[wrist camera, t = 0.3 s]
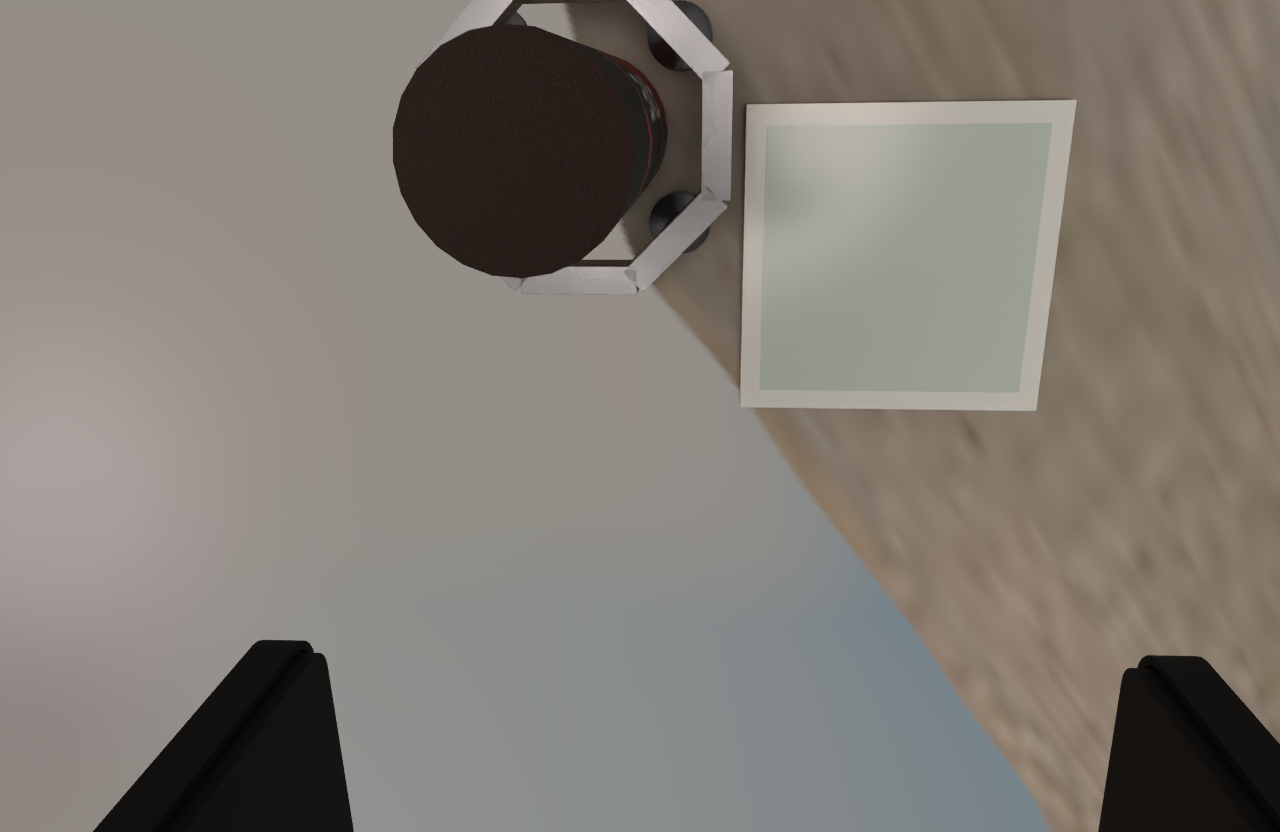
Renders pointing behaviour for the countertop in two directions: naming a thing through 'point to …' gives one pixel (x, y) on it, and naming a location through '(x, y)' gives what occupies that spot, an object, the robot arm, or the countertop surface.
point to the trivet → (900, 252)
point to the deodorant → (524, 147)
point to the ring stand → (679, 215)
